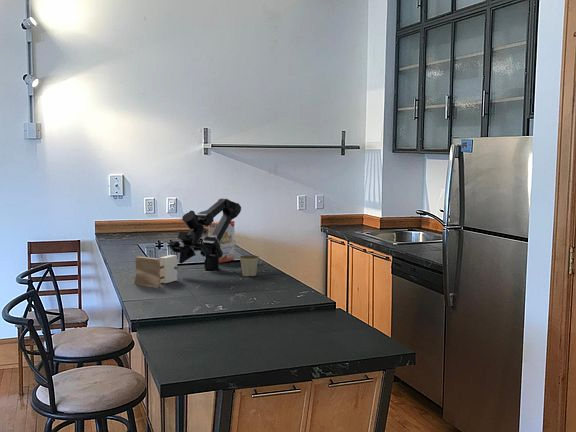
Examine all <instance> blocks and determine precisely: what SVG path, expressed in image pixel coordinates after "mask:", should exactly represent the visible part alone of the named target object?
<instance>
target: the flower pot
mask: <svg viewBox="0 0 576 432" xmlns="http://www.w3.org/2000/svg"><path fill="white" fill-rule="evenodd" d="M238 258H239V261H240V265H241V267H240V268H241V272H242V276H244V277H255V276H256V275H257V268H258V262H259V260H260V255H255V254H254V255H253V254H250V255H249V254H244V255H239V256H238Z"/></svg>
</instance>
